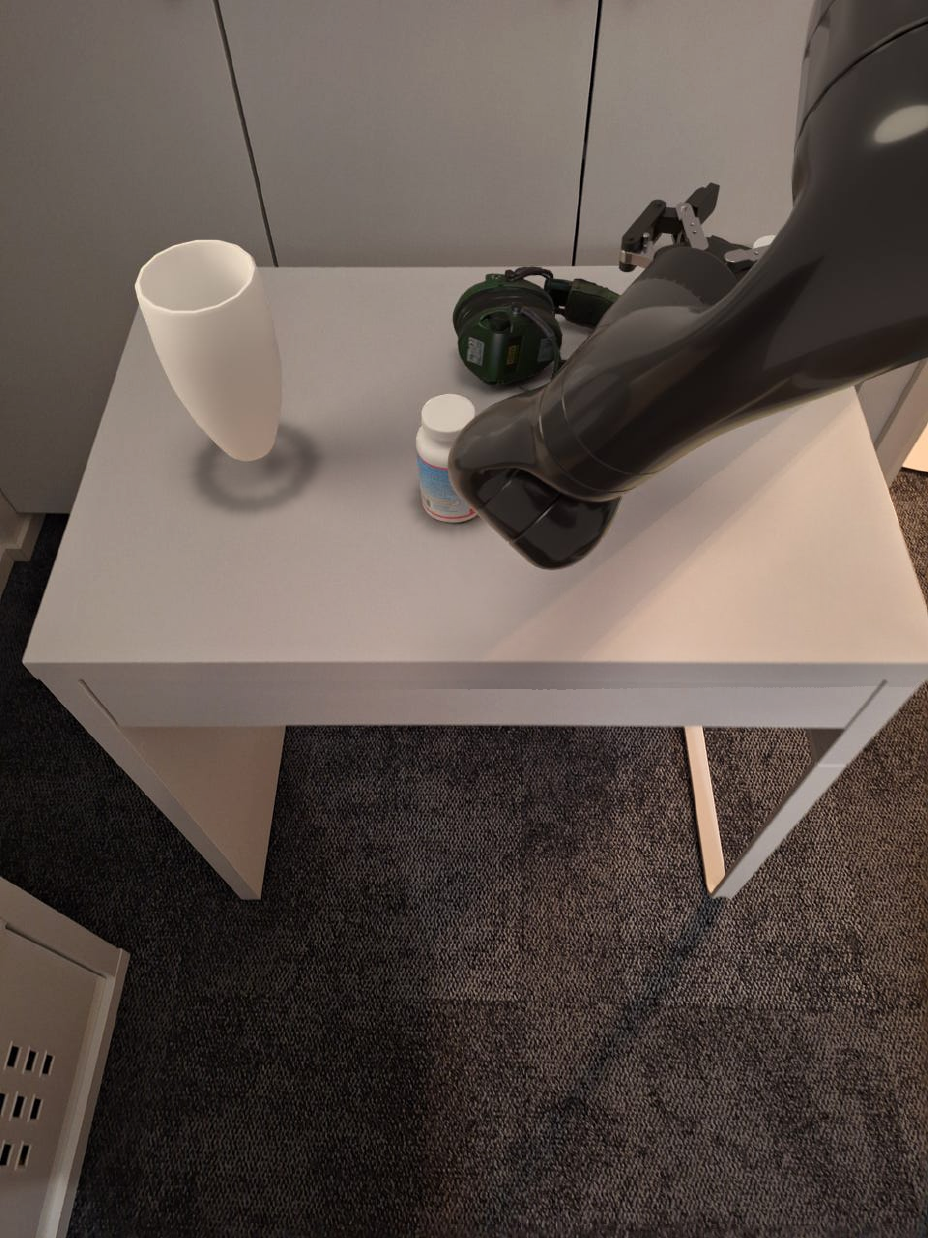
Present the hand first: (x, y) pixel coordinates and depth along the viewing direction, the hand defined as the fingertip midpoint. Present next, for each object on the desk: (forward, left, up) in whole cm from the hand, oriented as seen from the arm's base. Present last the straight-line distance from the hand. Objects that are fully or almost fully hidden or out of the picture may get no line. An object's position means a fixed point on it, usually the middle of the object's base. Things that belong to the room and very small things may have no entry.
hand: (765, 211), depth 69 cm
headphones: (+18, -6, -25) cm, 31 cm away
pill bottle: (+21, +15, -25) cm, 35 cm away
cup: (+41, +17, -25) cm, 50 cm away
